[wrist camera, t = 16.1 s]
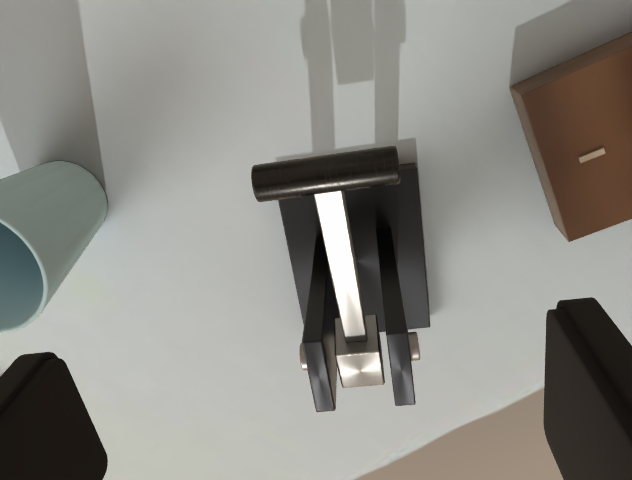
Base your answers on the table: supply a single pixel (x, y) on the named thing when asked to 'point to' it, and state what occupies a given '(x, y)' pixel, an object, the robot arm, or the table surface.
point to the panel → (582, 137)
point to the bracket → (362, 279)
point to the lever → (338, 242)
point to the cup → (43, 235)
